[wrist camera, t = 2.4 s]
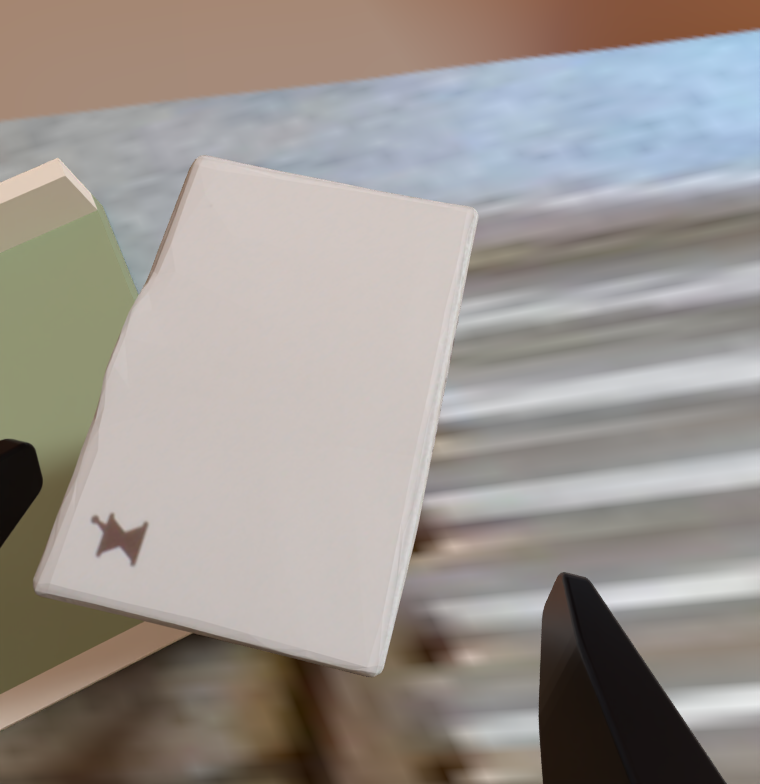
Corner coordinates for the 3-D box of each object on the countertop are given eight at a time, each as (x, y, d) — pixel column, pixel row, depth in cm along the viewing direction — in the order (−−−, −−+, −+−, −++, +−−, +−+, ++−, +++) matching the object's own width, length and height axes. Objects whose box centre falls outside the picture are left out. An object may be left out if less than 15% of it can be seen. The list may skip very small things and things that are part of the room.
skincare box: (396, 591, 17) (380, 707, 6) (267, 558, 18) (4, 602, 6) (436, 408, 19) (490, 197, 7) (316, 381, 19) (180, 141, 7)
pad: (261, 598, 17) (234, 610, 14) (-40, 752, 16) (-128, 794, 14) (102, 205, 21) (58, 157, 18) (-147, 315, 20) (-231, 281, 18)
